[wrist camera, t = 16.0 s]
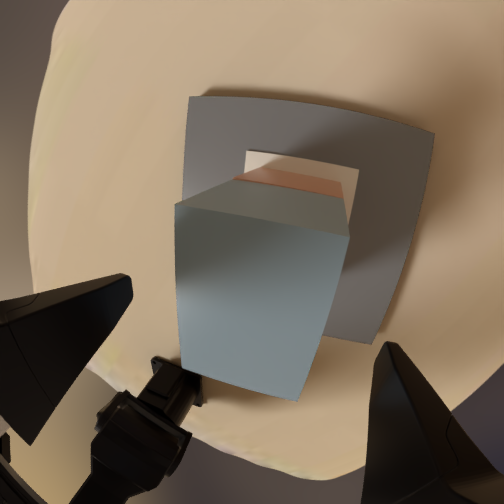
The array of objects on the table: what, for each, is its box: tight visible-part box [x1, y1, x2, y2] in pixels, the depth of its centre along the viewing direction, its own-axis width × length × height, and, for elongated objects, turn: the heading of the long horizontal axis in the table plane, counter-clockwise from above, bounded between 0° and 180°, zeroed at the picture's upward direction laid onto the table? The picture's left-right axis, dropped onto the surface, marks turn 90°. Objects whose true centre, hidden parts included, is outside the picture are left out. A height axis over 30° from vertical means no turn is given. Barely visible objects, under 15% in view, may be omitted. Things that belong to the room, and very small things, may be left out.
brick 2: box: [175, 179, 350, 402], centre depth 11 cm, size 7×5×5 cm
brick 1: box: [233, 167, 344, 199], centre depth 15 cm, size 7×5×5 cm
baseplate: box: [182, 96, 435, 345], centre depth 18 cm, size 16×16×1 cm
